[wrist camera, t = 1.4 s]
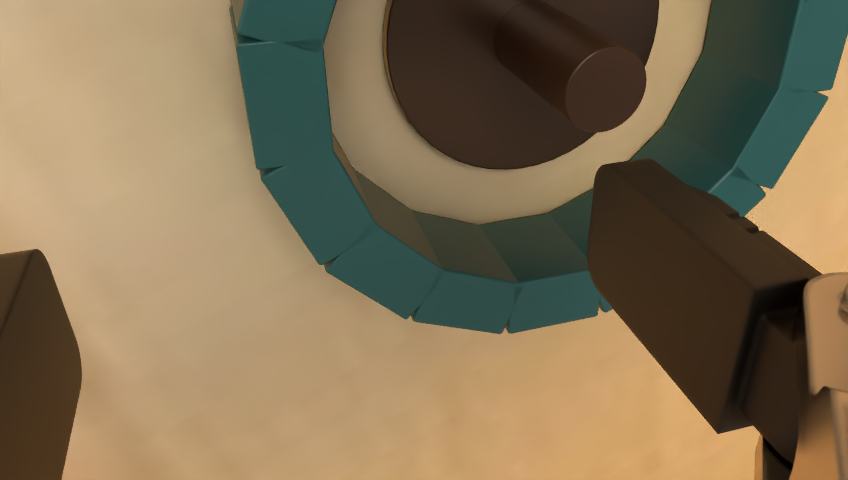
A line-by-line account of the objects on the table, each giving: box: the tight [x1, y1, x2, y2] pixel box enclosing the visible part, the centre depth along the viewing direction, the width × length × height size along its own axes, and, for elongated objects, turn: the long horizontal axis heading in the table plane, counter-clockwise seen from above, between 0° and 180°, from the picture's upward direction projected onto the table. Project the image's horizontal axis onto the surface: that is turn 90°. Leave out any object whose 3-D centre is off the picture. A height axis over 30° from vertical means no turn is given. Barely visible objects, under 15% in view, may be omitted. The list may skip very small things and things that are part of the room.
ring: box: [229, 0, 848, 334], centre depth 19 cm, size 16×16×4 cm
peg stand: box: [383, 0, 659, 170], centre depth 18 cm, size 8×8×5 cm
